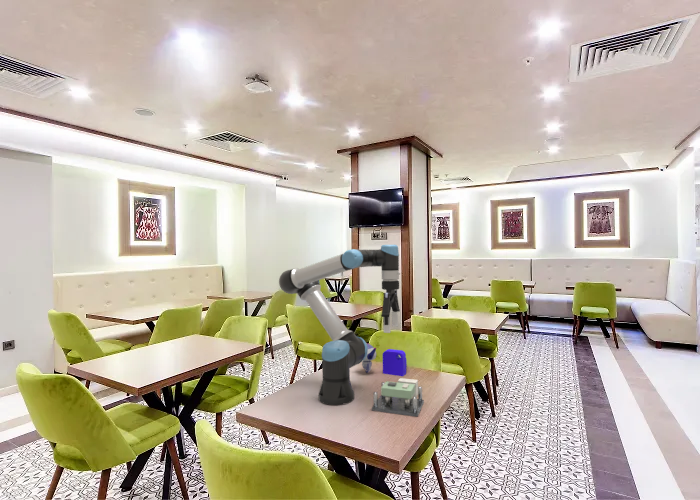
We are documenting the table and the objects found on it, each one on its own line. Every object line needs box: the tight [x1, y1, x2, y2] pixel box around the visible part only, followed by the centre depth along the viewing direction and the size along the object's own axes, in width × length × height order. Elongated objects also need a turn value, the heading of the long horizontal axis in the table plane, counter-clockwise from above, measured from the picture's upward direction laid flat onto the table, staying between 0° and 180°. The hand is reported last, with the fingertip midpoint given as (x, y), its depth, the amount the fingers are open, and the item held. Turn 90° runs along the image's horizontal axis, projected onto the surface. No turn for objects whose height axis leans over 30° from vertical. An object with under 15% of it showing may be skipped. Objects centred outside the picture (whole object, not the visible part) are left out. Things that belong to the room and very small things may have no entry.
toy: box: [361, 343, 377, 374], centre depth 192 cm, size 11×10×15 cm
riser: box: [397, 377, 419, 398], centre depth 162 cm, size 8×4×6 cm, turn 69°
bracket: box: [382, 348, 408, 377], centre depth 196 cm, size 18×11×12 cm, turn 153°
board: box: [380, 381, 415, 399], centre depth 149 cm, size 12×8×4 cm, turn 69°
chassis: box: [371, 381, 425, 418], centre depth 149 cm, size 18×14×7 cm
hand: (391, 329), depth 160 cm, fingers open, 13 cm apart
